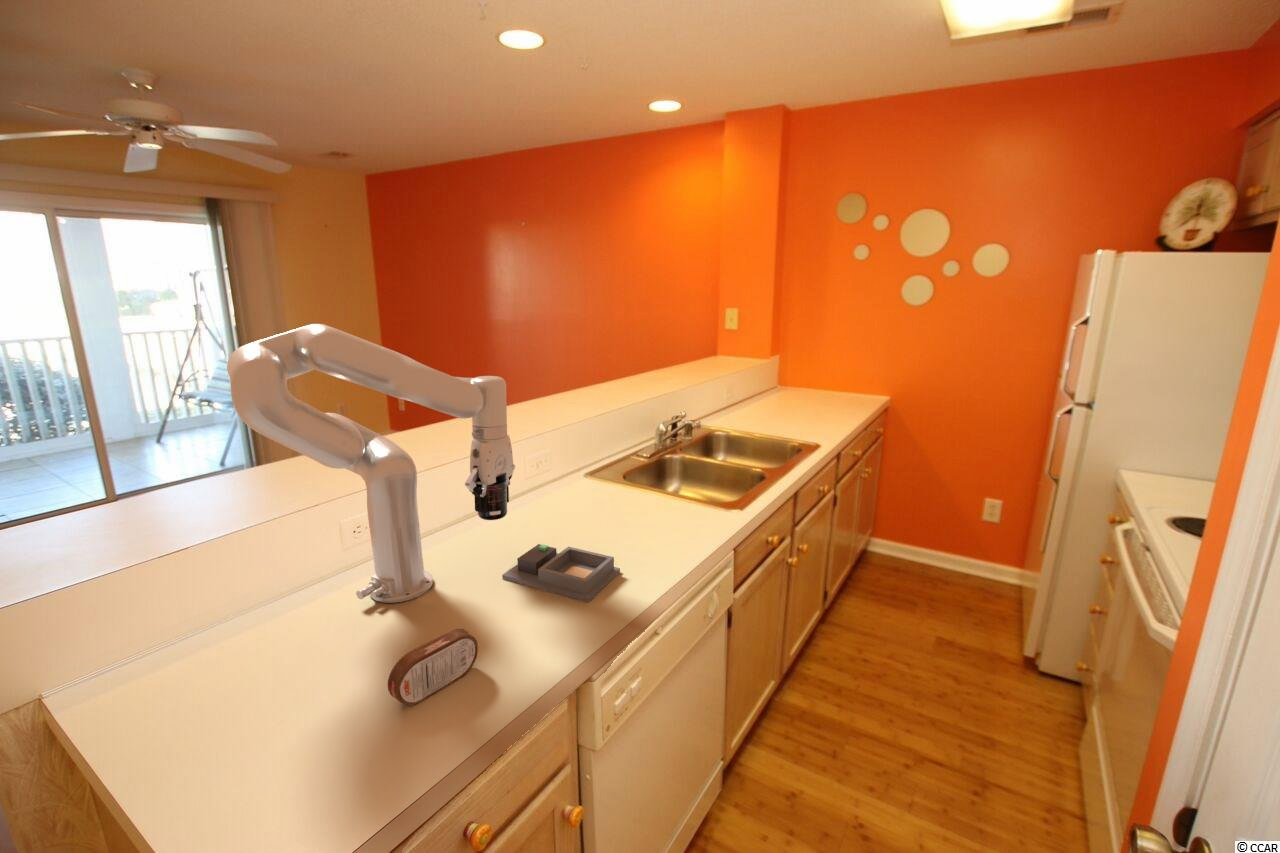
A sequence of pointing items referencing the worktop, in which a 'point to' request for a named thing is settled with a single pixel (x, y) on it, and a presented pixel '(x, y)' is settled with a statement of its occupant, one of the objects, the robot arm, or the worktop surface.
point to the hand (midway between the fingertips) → (492, 506)
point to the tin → (432, 666)
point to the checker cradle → (564, 571)
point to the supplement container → (496, 499)
